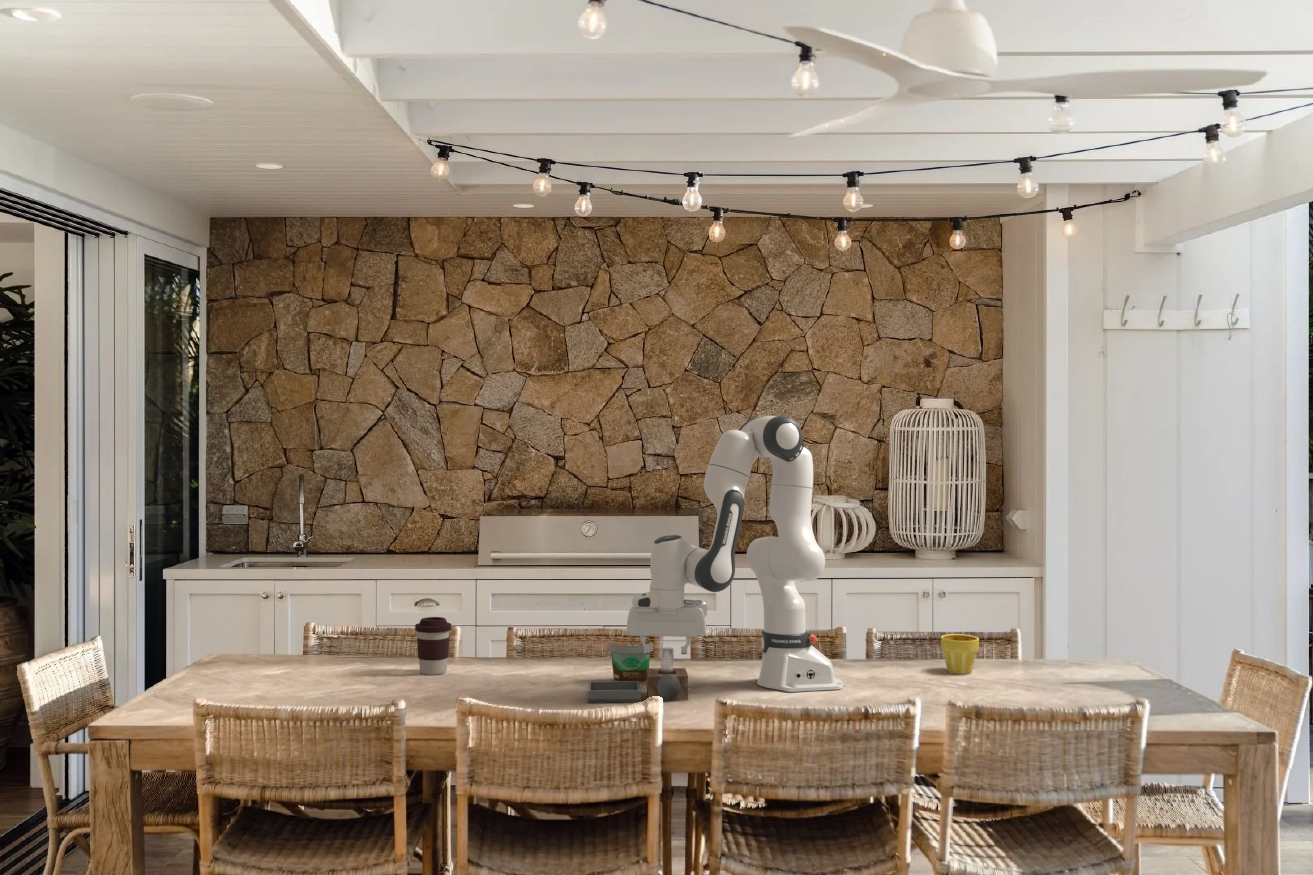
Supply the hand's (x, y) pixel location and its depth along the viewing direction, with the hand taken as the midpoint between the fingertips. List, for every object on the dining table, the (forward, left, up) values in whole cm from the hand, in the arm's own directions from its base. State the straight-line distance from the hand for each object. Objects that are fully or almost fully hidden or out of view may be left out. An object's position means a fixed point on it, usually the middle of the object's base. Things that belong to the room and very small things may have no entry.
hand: (665, 653), depth 306 cm
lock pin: (0, 0, -9) cm, 9 cm away
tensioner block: (0, 0, -11) cm, 11 cm away
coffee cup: (+63, -30, -11) cm, 70 cm away
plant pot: (-84, -27, -11) cm, 89 cm away
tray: (+13, +2, -11) cm, 17 cm away
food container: (+8, -18, -11) cm, 23 cm away
